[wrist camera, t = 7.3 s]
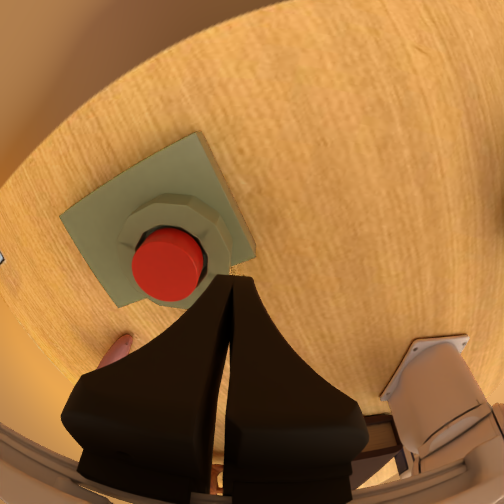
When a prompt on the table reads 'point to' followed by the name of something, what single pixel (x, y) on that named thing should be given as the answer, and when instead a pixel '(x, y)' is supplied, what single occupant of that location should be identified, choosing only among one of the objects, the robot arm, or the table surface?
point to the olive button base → (160, 218)
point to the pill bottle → (405, 462)
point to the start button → (168, 265)
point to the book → (375, 449)
